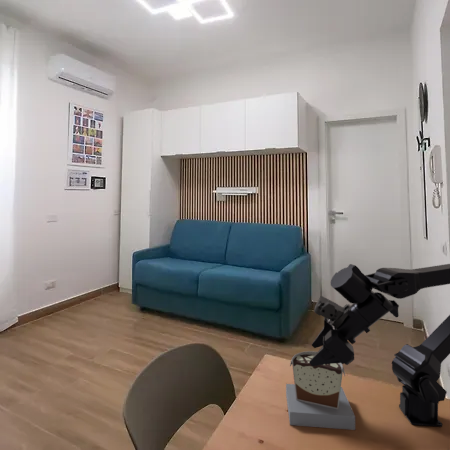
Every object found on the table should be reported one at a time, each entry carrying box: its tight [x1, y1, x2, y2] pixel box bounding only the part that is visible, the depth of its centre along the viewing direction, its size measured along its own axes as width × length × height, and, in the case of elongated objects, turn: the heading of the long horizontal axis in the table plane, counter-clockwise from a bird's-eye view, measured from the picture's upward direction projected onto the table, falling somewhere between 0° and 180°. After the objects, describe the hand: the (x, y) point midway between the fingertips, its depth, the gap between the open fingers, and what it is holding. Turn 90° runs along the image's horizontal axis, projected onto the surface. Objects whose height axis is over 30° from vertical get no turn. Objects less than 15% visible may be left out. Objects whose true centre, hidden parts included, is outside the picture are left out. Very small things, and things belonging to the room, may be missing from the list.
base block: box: [285, 383, 356, 431], centre depth 71 cm, size 14×11×3 cm
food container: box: [289, 350, 346, 409], centre depth 71 cm, size 12×6×10 cm, turn 68°
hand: (311, 354), depth 71 cm, fingers open, 9 cm apart
